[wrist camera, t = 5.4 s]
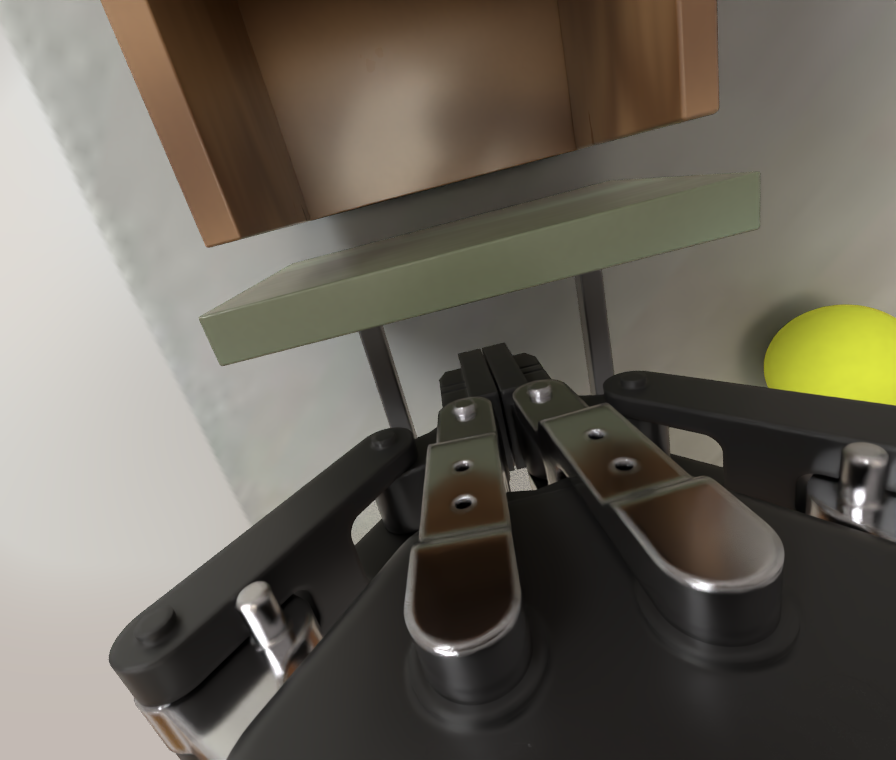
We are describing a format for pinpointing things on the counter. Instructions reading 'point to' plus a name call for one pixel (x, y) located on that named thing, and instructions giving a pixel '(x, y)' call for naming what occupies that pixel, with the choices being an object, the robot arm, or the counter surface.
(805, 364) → the ball
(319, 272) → the drawer
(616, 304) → the counter surface
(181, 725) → the robot arm
